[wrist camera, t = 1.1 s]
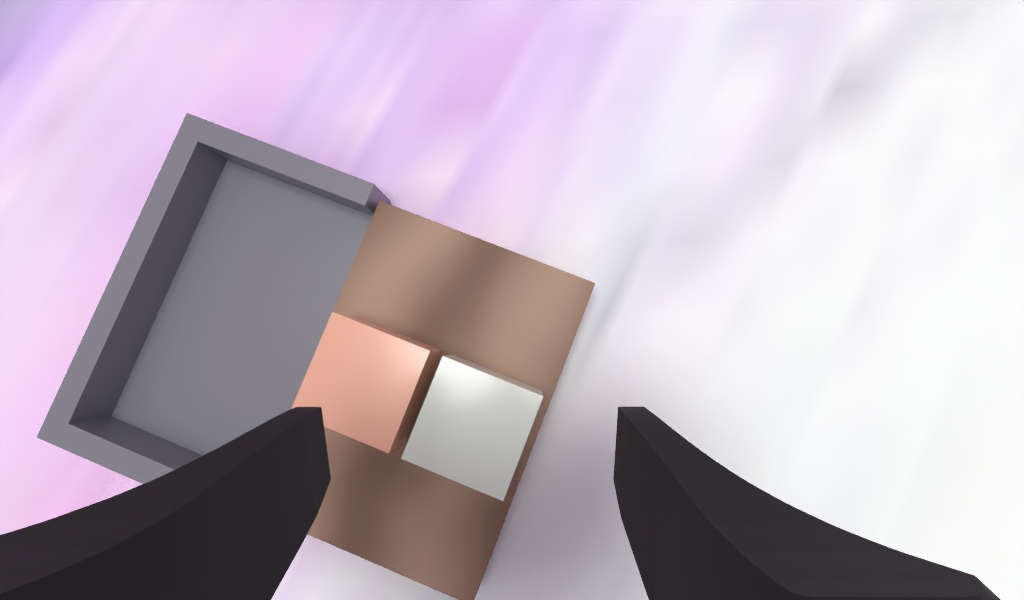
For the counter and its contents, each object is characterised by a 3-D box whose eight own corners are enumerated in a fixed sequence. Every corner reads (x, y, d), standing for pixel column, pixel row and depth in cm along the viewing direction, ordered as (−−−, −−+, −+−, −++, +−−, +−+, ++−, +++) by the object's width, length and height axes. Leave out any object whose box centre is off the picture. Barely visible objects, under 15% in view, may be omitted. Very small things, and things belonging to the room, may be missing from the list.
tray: (390, 201, 23) (374, 184, 21) (263, 501, 22) (230, 521, 20) (222, 137, 24) (187, 113, 21) (90, 427, 23) (37, 437, 20)
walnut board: (589, 288, 23) (595, 283, 21) (477, 581, 22) (472, 605, 20) (392, 213, 23) (379, 200, 21) (274, 493, 22) (249, 508, 20)
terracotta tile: (441, 350, 21) (430, 350, 18) (405, 440, 20) (388, 453, 18) (355, 315, 21) (332, 311, 18) (318, 403, 20) (289, 412, 18)
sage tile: (541, 390, 20) (543, 396, 18) (506, 481, 20) (503, 501, 17) (452, 354, 20) (442, 355, 18) (416, 444, 20) (401, 458, 18)
